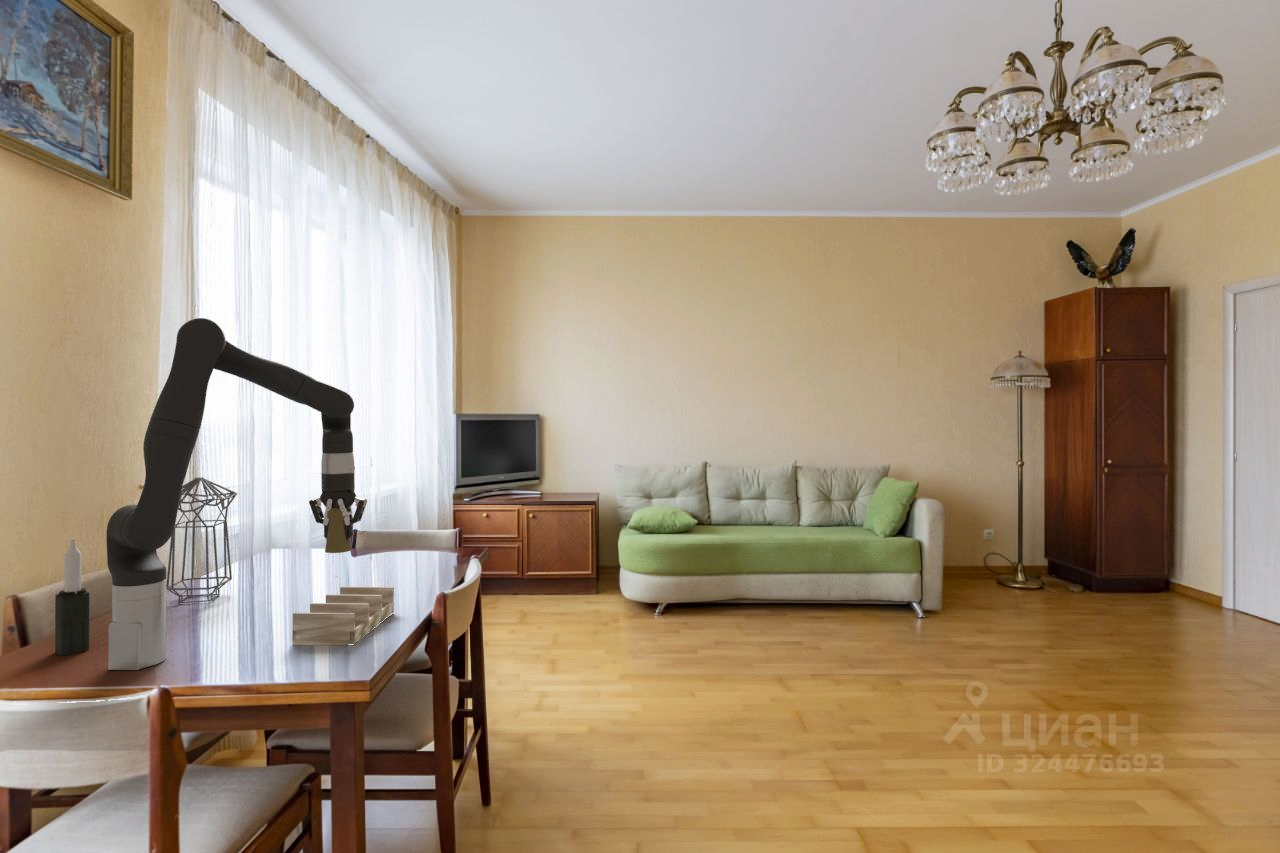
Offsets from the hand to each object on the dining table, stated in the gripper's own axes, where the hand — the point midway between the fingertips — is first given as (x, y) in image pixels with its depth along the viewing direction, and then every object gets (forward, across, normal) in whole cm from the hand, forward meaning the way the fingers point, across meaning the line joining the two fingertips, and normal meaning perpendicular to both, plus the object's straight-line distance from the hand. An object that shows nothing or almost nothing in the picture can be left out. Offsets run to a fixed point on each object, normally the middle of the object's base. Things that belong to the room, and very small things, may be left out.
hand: (338, 539), depth 168 cm
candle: (+21, -51, -18) cm, 58 cm away
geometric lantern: (+22, -50, +25) cm, 60 cm away
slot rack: (+22, +2, -1) cm, 22 cm away
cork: (+3, 0, 0) cm, 3 cm away
